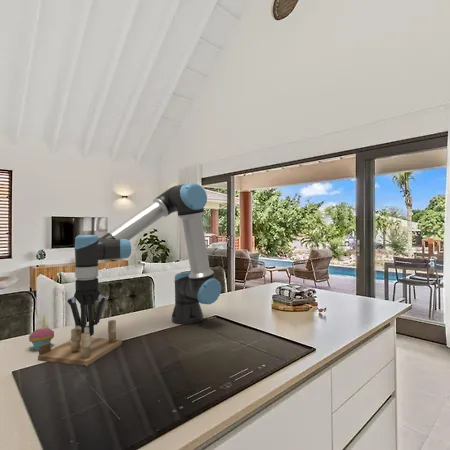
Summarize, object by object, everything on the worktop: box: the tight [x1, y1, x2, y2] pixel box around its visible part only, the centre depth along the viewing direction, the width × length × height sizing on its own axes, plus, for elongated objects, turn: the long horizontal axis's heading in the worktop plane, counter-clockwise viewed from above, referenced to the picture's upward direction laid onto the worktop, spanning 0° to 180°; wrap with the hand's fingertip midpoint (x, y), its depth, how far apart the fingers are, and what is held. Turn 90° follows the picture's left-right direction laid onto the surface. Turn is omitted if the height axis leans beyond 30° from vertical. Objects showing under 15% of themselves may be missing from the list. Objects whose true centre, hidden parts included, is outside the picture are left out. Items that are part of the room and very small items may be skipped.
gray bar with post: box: [69, 327, 80, 352], centre depth 120 cm, size 3×14×8 cm, turn 30°
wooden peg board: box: [37, 317, 123, 367], centre depth 119 cm, size 20×20×10 cm
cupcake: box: [28, 314, 55, 351], centre depth 124 cm, size 9×8×12 cm
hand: (87, 344), depth 115 cm, fingers closed
